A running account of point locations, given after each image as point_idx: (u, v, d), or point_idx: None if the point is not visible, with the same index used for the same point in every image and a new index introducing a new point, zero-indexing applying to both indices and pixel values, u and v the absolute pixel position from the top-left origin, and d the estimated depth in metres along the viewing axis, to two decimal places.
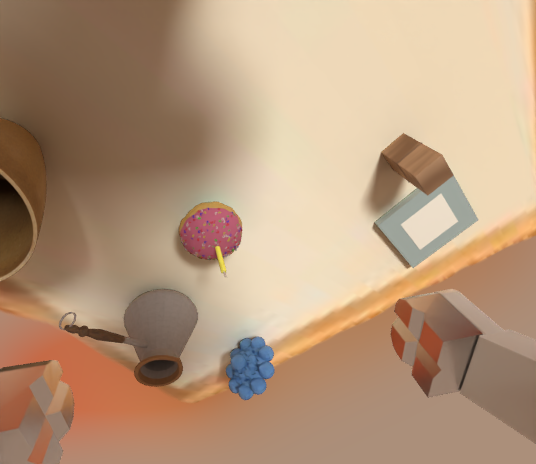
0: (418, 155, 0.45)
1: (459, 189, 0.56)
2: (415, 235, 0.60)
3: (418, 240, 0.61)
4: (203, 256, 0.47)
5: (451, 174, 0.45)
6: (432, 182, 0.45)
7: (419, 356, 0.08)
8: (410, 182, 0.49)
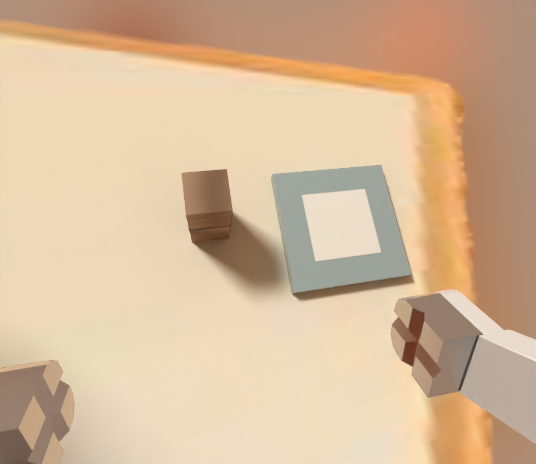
0: None
1: (313, 172, 0.41)
2: (349, 249, 0.39)
3: (361, 248, 0.39)
4: None
5: (222, 171, 0.31)
6: (215, 197, 0.30)
7: (419, 356, 0.08)
8: (229, 224, 0.34)
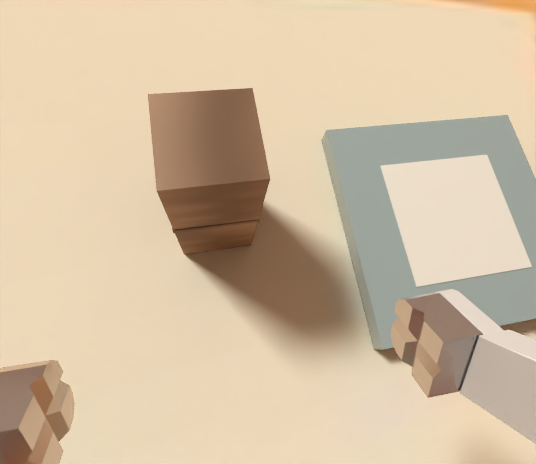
0: None
1: (395, 127, 0.24)
2: (475, 262, 0.21)
3: (496, 260, 0.21)
4: None
5: (243, 92, 0.14)
6: (227, 149, 0.13)
7: (419, 356, 0.08)
8: (257, 217, 0.16)
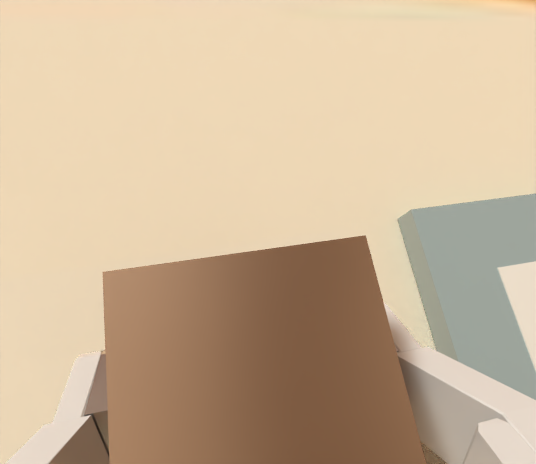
0: None
1: (512, 202, 0.15)
2: None
3: None
4: None
5: (345, 248, 0.05)
6: (320, 437, 0.05)
7: None
8: None
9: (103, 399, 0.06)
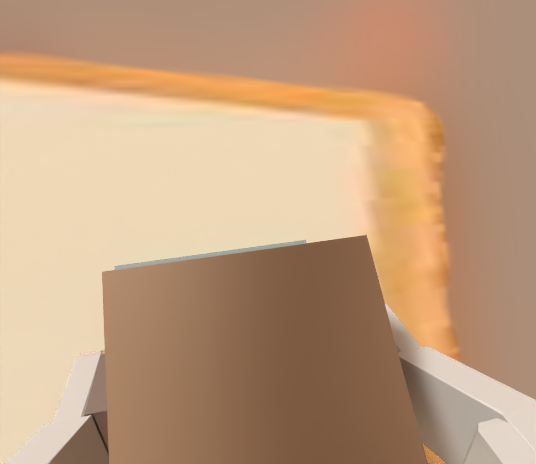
0: None
1: None
2: None
3: None
4: None
5: (346, 248, 0.05)
6: (321, 438, 0.05)
7: None
8: None
9: (103, 399, 0.06)
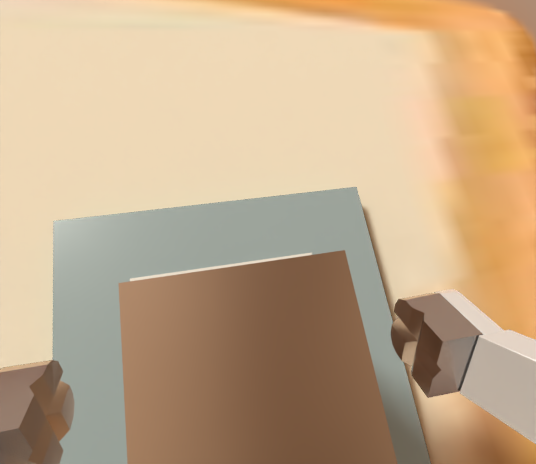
0: None
1: (171, 213, 0.16)
2: None
3: None
4: None
5: (327, 261, 0.06)
6: (303, 423, 0.05)
7: (419, 356, 0.08)
8: None
9: None
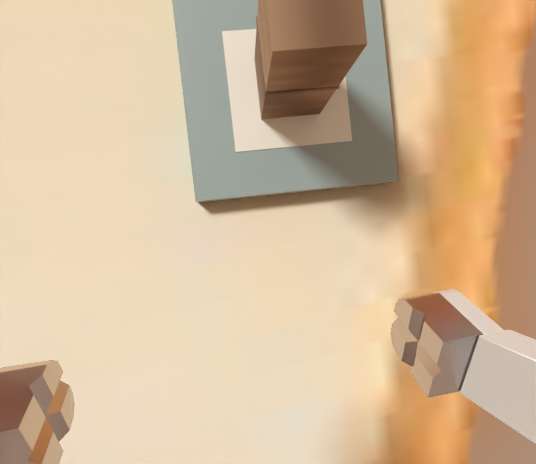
0: (262, 31, 0.17)
1: None
2: (297, 133, 0.23)
3: (318, 132, 0.23)
4: None
5: None
6: (332, 13, 0.14)
7: (419, 356, 0.08)
8: (338, 84, 0.18)
9: None
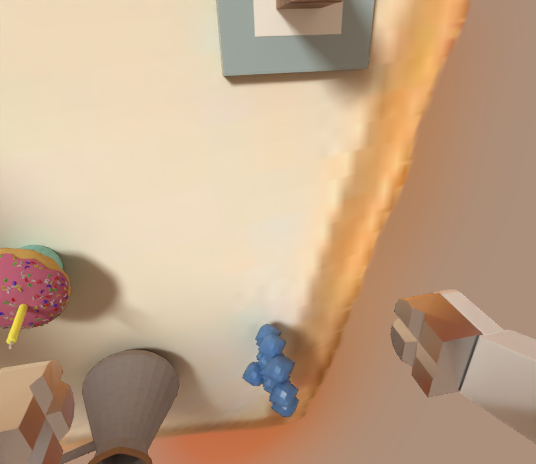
0: None
1: None
2: (302, 23, 0.30)
3: (318, 24, 0.31)
4: (34, 323, 0.33)
5: None
6: None
7: (419, 356, 0.08)
8: (341, 0, 0.26)
9: None
